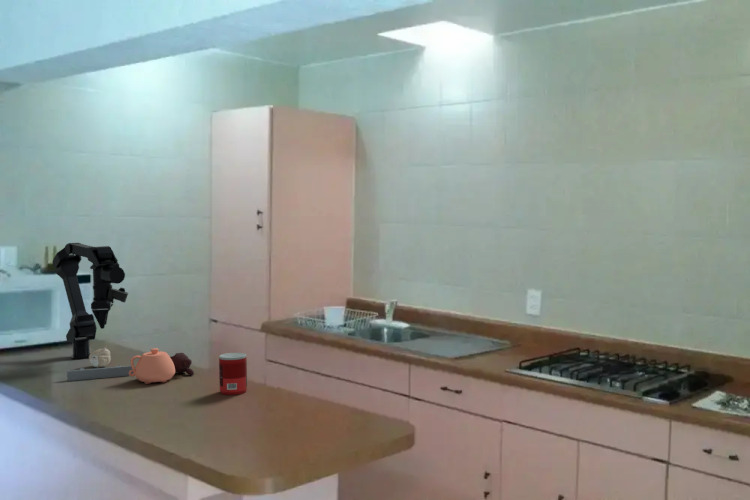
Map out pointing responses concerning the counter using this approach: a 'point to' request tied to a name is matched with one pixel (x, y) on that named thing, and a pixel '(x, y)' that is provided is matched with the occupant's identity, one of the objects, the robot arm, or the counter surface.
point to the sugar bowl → (153, 367)
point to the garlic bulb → (100, 357)
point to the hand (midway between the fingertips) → (103, 326)
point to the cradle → (98, 373)
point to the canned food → (233, 373)
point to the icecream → (182, 363)
